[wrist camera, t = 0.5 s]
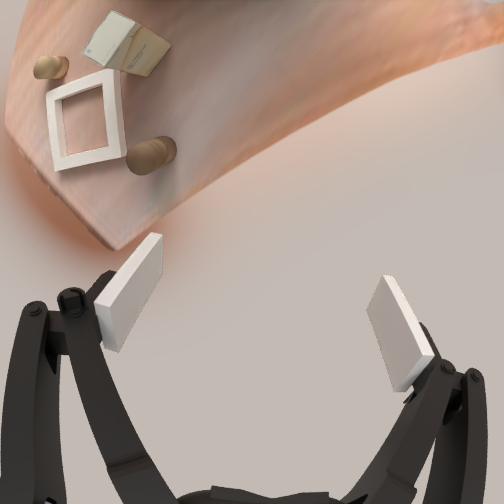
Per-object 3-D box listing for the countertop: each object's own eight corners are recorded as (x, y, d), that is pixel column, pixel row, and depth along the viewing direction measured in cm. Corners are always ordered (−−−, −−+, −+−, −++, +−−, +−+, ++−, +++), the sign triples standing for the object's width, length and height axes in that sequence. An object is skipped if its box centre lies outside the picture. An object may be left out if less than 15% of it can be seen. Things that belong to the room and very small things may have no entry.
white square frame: (52, 92, 34) (45, 92, 32) (119, 67, 32) (113, 66, 31) (61, 168, 40) (54, 171, 38) (127, 155, 39) (121, 157, 37)
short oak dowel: (52, 61, 31) (33, 60, 26) (68, 53, 30) (50, 51, 26) (52, 82, 33) (33, 82, 28) (69, 74, 32) (50, 74, 28)
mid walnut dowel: (149, 138, 37) (124, 145, 30) (175, 134, 37) (153, 140, 30) (152, 164, 39) (128, 177, 32) (178, 161, 39) (157, 173, 32)
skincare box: (147, 78, 33) (103, 70, 22) (126, 64, 32) (79, 55, 21) (174, 43, 31) (137, 22, 20) (152, 30, 30) (110, 9, 19)
